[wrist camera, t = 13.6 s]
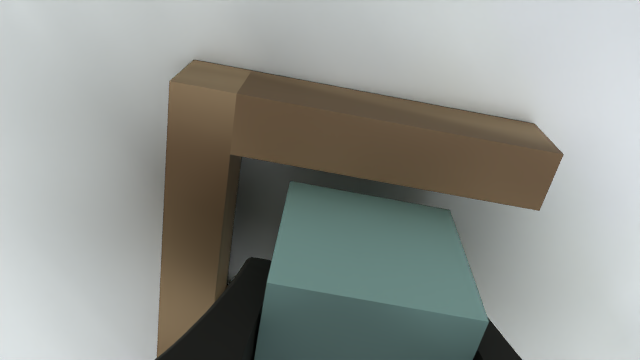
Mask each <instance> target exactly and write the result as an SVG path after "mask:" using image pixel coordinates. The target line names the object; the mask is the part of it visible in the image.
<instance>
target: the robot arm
mask: <svg viewBox="0 0 640 360" xmlns="http://www.w3.org/2000/svg"><path fill="white" fill-rule="evenodd" d="M271 262H272V261H271V260H266V259H260V258H254V257H251V258H249V259H247V260H246V261H245V263H244V265H243V266H242V268H241V269H240V271H239V272H238V274H237V275H236V277H235V278H234V279H233V281H232V282H231V283H230V284H229V286H228V287H227V288H226V290H225V291H224V292H223V293H222V294H221V295H220V297H219V298H218V299H217V300H216V301H215V302H214V304H213V305H212V306H211V307H210V308H209V309H208V310H207V311H206V313H205V314H204V315H203V316H202V317H201V318H200V319H199V320H198V321H197V322H196V323H195V324H194V325H193V326H192V327H191V328H190V329H189V330H188V331H187V332H186V333H185V334H184V335H183V336H182V337H180V338H179V339H178V340H177V341H176V342H175V343H174V344H173V345H172V346H170V347H169V348H168V349H167V350H166V351H165V352H164V353H162V354H161V355H160V356H159V357H158V358H156V359H155V360H254V357H255V351H256V345H257V339H258V333H259V327H260V320H261V314H262V308H263V302H264V296H265V290H266V284H267V279H268V275H269V271H270V266H271ZM487 318H488V317H487ZM488 320H489V318H488ZM473 360H522V359H521V358H520V357H519V355H518V354H517V353H516V352H515V351H514V349H513V348H512V347H511V346H510V345H509V343H508V342H507V341H506V340H505V338H504V337H503V336H502V335H501V333H500V332H499V331H498V330H497V328H496V327H495V326H494V325H493V323H492V322H491V321H490V320H489V323H488V325H487V328H486V330H485V332H484V335H483V337H482V339H481V342H480V344H479V346H478V349H477V351H476V353H475V356H474V358H473Z"/></svg>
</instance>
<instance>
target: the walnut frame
mask: <svg viewBox="0 0 640 360" xmlns="http://www.w3.org/2000/svg"><path fill="white" fill-rule="evenodd" d="M563 155H564V154H563V153H562V152H561V151H560V150H559V149H558V148H557V147H556V146H555V145H554V144H553V143H552V142H551V141H550V139H549V138H548V137H547V136H546V135H545V134H544V133H543V132H542V131H541V130H540V129H539V128H538V127H537V126H536V125H535V124H533V123H527V122H522V121H517V120H512V119H506V118H501V117H496V116H490V115H485V114H480V113H474V112H469V111H464V110H458V109H453V108H448V107H442V106H437V105H432V104H426V103H421V102H416V101H410V100H405V99H400V98H394V97H389V96H384V95H379V94H373V93H368V92H363V91H357V90H352V89H347V88H341V87H336V86H331V85H325V84H320V83H315V82H309V81H304V80H299V79H293V78H288V77H283V76H277V75H272V74H267V73H261V72H256V71H251V70H246V69H240V68H235V67H230V66H224V65H219V64H214V63H208V62H203V61H198V60H193V61H192V62H191V63H190V64H188V65H187V66H186V67H185V68H184V69H183V70H182V71H180V72H179V73H178V74H177V75H176V76H175V77H174V78H172V79H171V80H170V81H169V103H168V125H167V147H166V168H165V190H164V212H163V234H162V256H161V278H160V300H159V322H158V343H157V358H158V357H159V356H160V355H161V354H162V353H164V352H165V351H166V350H167V349H168V348H169V347H170V346H172V345H173V344H174V343H175V342H176V341H177V340H178V339H179V338H180V337H182V336H183V335H184V334H185V333H186V332H187V331H188V330H189V329H190V328H191V327H192V326H193V325H194V324H195V323H196V322H197V321H198V320H199V319H200V318H201V317H202V316H203V315H204V314H205V313H206V311H207V310H208V309H209V308H210V307H211V306H212V305H213V304H214V302H215V301H216V300H217V299H218V298H219V297H220V295H221V294H222V293H223V292H224V291H225V290H226V288H227V287H228V285H226V284H227V275H228V267H229V259H230V250H231V242H232V233H233V225H234V216H235V208H236V200H237V191H238V183H239V174H240V166H241V158H242V157H247V158H253V159H258V160H264V161H269V162H275V163H280V164H286V165H291V166H297V167H302V168H307V169H313V170H318V171H324V172H329V173H335V174H340V175H346V176H351V177H357V178H362V179H368V180H373V181H379V182H384V183H390V184H395V185H401V186H406V187H412V188H417V189H423V190H428V191H434V192H439V193H445V194H450V195H456V196H461V197H467V198H472V199H478V200H483V201H489V202H494V203H500V204H505V205H511V206H516V207H522V208H527V209H533V210H538V211H539V210H540V208H541V206H542V203H543V201H544V199H545V196H546V194H547V192H548V189H549V187H550V185H551V182H552V180H553V178H554V175H555V173H556V171H557V168H558V166H559V164H560V161H561V159H562V157H563Z"/></svg>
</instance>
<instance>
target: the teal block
mask: <svg viewBox="0 0 640 360" xmlns="http://www.w3.org/2000/svg"><path fill="white" fill-rule="evenodd" d="M488 323H489V320H488V318H487V315H486V312H485V309H484V306H483V303H482V300H481V298H480V295H479V292H478V289H477V286H476V283H475V281H474V278H473V275H472V272H471V269H470V266H469V263H468V261H467V258H466V255H465V252H464V249H463V246H462V244H461V241H460V238H459V235H458V232H457V229H456V227H455V224H454V221H453V218H452V215H451V212H450V210H447V209H442V208H436V207H431V206H425V205H420V204H414V203H409V202H403V201H398V200H392V199H387V198H381V197H376V196H370V195H365V194H359V193H354V192H348V191H343V190H338V189H332V188H327V187H321V186H316V185H310V184H305V183H299V182H294V181H290V184H289V189H288V193H287V197H286V202H285V206H284V210H283V215H282V219H281V223H280V228H279V232H278V236H277V240H276V245H275V249H274V253H273V258H272V262H271V266H270V271H269V275H268V279H267V284H266V290H265V296H264V302H263V308H262V314H261V320H260V327H259V333H258V339H257V345H256V351H255V357H254V360H473V358H474V356H475V353H476V351H477V349H478V346H479V344H480V342H481V339H482V337H483V335H484V332H485V330H486V328H487V325H488Z"/></svg>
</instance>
